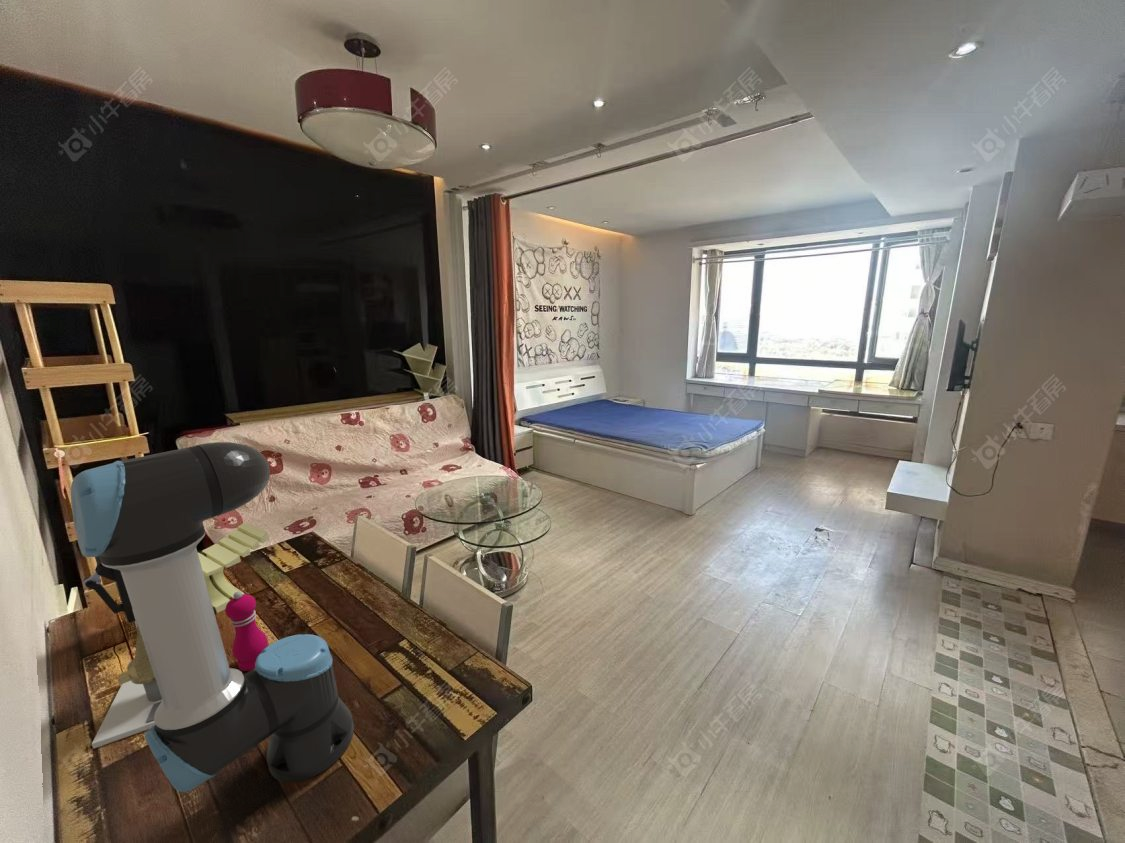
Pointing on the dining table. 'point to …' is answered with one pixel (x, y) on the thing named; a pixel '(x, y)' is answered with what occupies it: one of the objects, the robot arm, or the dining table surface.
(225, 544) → the slatted curved stool
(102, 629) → the dining table surface
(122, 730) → the base
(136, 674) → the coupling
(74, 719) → the dining table surface
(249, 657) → the pepper mill
